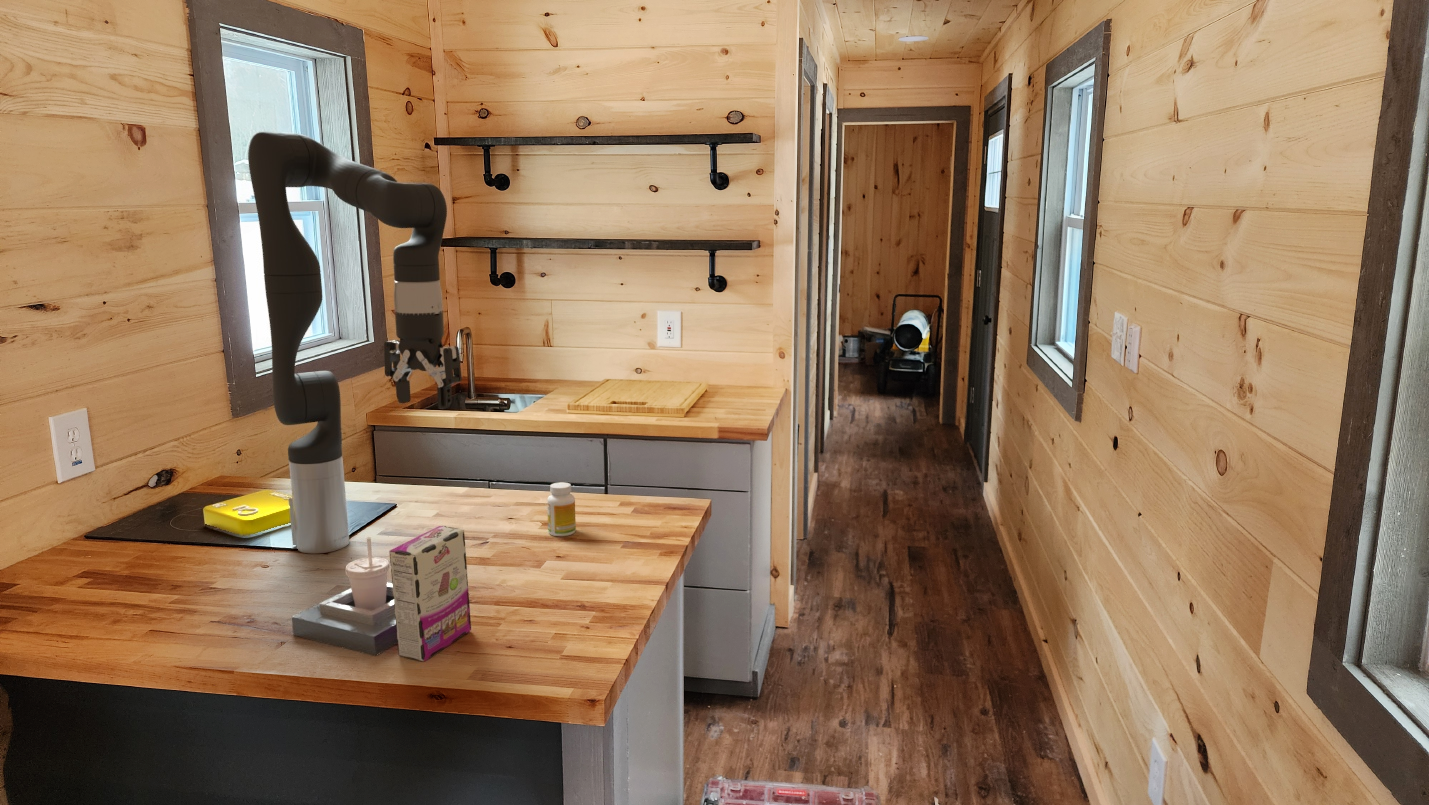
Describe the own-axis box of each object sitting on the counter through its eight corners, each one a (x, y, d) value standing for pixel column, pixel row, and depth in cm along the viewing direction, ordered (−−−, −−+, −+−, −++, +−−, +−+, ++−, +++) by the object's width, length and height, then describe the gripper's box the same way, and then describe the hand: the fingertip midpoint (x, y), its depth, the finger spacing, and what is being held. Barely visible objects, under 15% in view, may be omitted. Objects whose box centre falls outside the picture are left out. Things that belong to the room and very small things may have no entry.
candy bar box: (445, 625, 145) (439, 524, 142) (472, 631, 143) (466, 528, 140) (395, 657, 135) (387, 548, 132) (423, 663, 133) (416, 554, 130)
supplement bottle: (581, 530, 187) (580, 483, 185) (563, 538, 182) (561, 490, 180) (560, 525, 190) (559, 479, 188) (542, 533, 185) (540, 486, 183)
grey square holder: (293, 635, 142) (290, 607, 141) (371, 595, 156) (369, 570, 155) (375, 655, 135) (373, 626, 134) (448, 612, 150) (447, 586, 149)
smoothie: (379, 634, 142) (372, 546, 139) (341, 630, 143) (333, 543, 140) (401, 616, 148) (395, 532, 145) (364, 612, 149) (358, 529, 147)
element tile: (314, 520, 194) (312, 498, 193) (245, 542, 181) (243, 518, 180) (269, 507, 201) (267, 486, 200) (200, 528, 189) (198, 505, 188)
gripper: (368, 308, 153) (375, 405, 157) (437, 314, 147) (442, 414, 151) (401, 303, 160) (407, 396, 163) (468, 308, 154) (473, 405, 157)
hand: (424, 405), depth 157 cm, fingers open, 8 cm apart
